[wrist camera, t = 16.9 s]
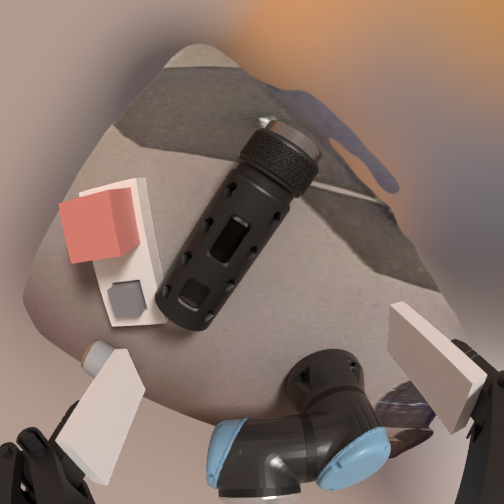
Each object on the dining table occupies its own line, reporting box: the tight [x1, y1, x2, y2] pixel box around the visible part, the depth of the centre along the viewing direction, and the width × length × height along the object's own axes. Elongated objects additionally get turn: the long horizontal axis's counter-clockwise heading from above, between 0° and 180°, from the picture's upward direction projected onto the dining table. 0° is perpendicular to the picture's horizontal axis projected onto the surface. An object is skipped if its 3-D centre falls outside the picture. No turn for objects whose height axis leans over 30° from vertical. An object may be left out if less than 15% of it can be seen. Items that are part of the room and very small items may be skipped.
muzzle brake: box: [155, 120, 322, 331], centre depth 36 cm, size 10×28×10 cm, turn 146°
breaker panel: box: [79, 178, 169, 327], centre depth 40 cm, size 22×10×4 cm, turn 7°
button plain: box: [107, 280, 147, 318], centre depth 39 cm, size 4×4×4 cm
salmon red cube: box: [59, 187, 140, 264], centre depth 33 cm, size 8×8×7 cm
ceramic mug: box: [81, 339, 132, 378], centre depth 44 cm, size 11×8×8 cm
